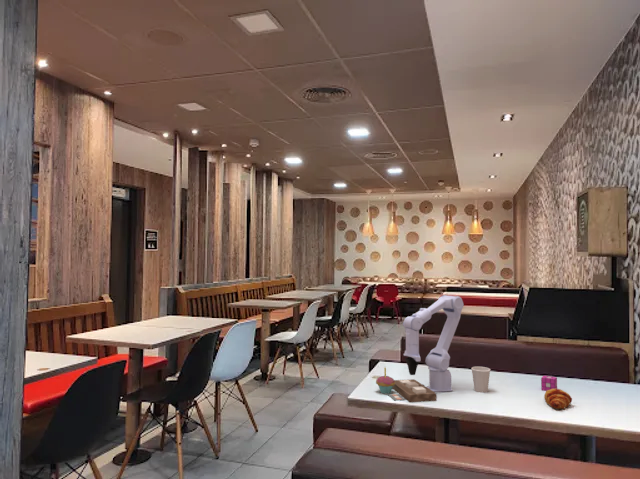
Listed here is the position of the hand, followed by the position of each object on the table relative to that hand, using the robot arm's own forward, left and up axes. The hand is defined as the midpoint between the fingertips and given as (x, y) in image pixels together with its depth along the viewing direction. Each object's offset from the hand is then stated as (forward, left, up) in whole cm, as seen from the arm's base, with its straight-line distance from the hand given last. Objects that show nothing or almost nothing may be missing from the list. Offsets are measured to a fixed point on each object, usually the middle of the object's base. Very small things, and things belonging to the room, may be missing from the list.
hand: (412, 374), depth 204 cm
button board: (0, -1, -8) cm, 8 cm away
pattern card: (+9, +4, -8) cm, 13 cm away
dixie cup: (-33, 0, -9) cm, 34 cm away
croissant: (-54, +24, -9) cm, 60 cm away
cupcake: (+11, -5, -9) cm, 15 cm away
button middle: (0, -1, -7) cm, 7 cm away
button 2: (0, +7, -7) cm, 10 cm away
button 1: (0, -9, -8) cm, 12 cm away
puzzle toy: (-65, +4, -9) cm, 66 cm away
